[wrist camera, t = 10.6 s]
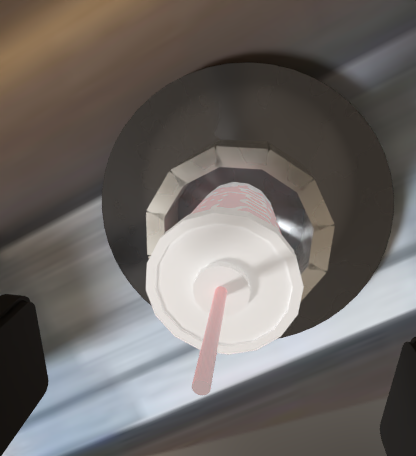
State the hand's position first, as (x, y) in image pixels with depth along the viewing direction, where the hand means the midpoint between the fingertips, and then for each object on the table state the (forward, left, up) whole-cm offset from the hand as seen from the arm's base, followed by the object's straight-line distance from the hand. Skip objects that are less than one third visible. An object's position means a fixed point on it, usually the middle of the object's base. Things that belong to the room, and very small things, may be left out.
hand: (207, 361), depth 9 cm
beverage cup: (+1, 0, -14) cm, 14 cm away
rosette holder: (+1, 0, -15) cm, 15 cm away
